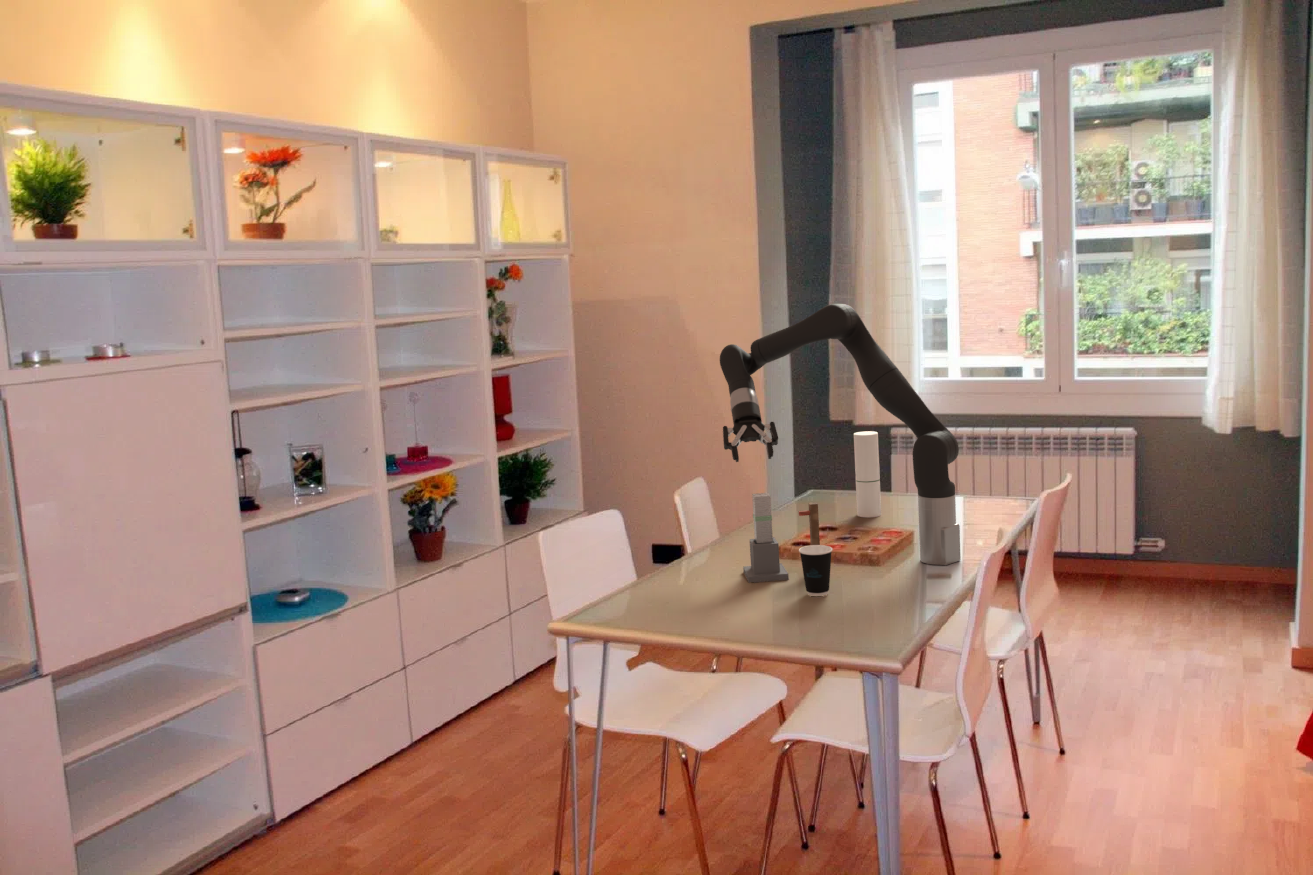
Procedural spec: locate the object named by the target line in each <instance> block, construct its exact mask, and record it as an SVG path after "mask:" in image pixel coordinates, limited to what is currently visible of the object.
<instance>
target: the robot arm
mask: <svg viewBox="0 0 1313 875" xmlns="http://www.w3.org/2000/svg"><path fill="white" fill-rule="evenodd" d="M825 340H838V341H839V342H840V343H841V344H842V345H843V346H844V347H845V349H846V350H847V351H848V353H850V355H851V356H852V357H853V359H854V361H855V363H856V366H857V369H858V371H859V375H860V377H861V379H862V382H863V384H864V385H865V387H866V388H867V390H868V391H869V392H870V394H871V395H872V396H873V398H874V399H875V401H876V402H877V403H878V404H879V405H880V406H881V407H882V408H883V409H885V410H886V411H887V412H888V413H890V414H891V415H893V416H894V417H896V418H897V419H899V420H900V421H901V422H903V423H904V424H905V425H906V426H907V427H908V428H909V429H910V430H911V431H912V434H914V436H915V437H916V440H915V442H914V444H913V447H912V468H913V470H912V471H913V479H914V480H913V481H914V484H915V486H916V488H917V508H918V513H917V514H918V531H919V532H918V533H919V534H918V535H919V538H918V539H919V560H920V562H921V563H924V564H927V565H936V566H937V565H938V566H940V565H941V566H948V565H951V564H954V563H957V562H959V561H961V533H960V532H961V531H960V530H961V528H960V527H961V526H960V524H959V523H957V511H956V508H957V506H956V505H957V504H956V485H955V482H953V481H952V480H950V475H949V465H950V464H952V463H953V462H955V460H956V459H957V458H958V456H959V450H960V449H959V448H960V447H959V442H958V441H957V439H956V437H955V436H954V434H953V433H952V432H951V431H950V430H949V429H948V428H947V427H946V426H945V425H944V424H943V423H942V422H941V421H940V419H939V418H937V416H935V415H934V413H933V412H932V411H931V410H930V408H929V407H928V406H927V404H925V402H924V401H923V399H922V398H921V397H920V396H919V394H918V393H917V392H916V391H915V389H914V388H913V387H912V385H911V384H910V383H909V381H908V380H907V378H906V377H905V376H904V374H903V373H902V372H901V370H900V369H899V368H898V367H897V366H896V364H895V363H894V362H893V361H892V360H891V358H890V357H889V356H888V355H887V353H886V352H885V351H884V350H883V349H882V348H881V346H880V345H879V344H878V343H877V341H876V340H875V338H873V336H872V335H871V333H870V332H869V330H868V328H867V326H866V325H865V324H864V322H863V320H862V319H861V316H860V315H859V314H858V312H857V311H856V310H855V308H853V307H852V306H851V305H848V304H845V303H830V304H828V305H825V306H823V307H821V308H820V309H819V310H817V311H815V312H814V313H813V314H810V315H809V316H807V317H806V318H804V319H803V320H801V321H799V322H796V323H795V324H793V325H790V326H787V327H785V328H782V329H780V330H777V331H775V332H772V333H769V334H767V335H765V336H762V337H760V338H757V339H756V340H753V341H752V342H751V343H750V352H749V353H748V352H747V351H746V350H744V349H743V348H742V347H740V346H739V345H737V344H728V345H726V346H724V347H723V349H722V350H721V352H720V354H719V365H720V369H721V371H722V373H723V375H724V376H723V377H724V379H725V381H726V384H727V386H728V391H729V392H728V393H729V397H730V401H729V404H730V412H731V416H732V423H733V427H728V426H727V425H723V427H722V438H723V440H722V441H723V449H724V450H726V451H727V450H730V451H731V456H732V459H733V461H735V462H736V463H739V460H740V458H739V456H740V455H739V451H738V447H739V446H741V444H742V442H744V443H749V442H757V441H758V442H759V443H760V444H763V445H765V447H766V454H767V459H768V460H771V459H772V457H773V456H774V448H773V446H778V444H779V435H778V432H777V428H776V422H774V421H770V422H769V423H767V424H764V422H763V419H762V416H761V410H760V404H759V398H758V397H757V392H756V388H755V382H754V379H753V377H752V375H753V374H754V373H756V372H757V371H758V370H760V369H761V368H762V367H764V366H765V365H767V364H769V363H772V362H774V361H776V360H779V359H781V358H784V357H785V356H786V357H787V355H790V354H791V353H793V352H795V351H796V350H798V349H800V348H802V347H804V346H806V345H809V344H812V343H816V342H819V341H825ZM765 430H766V431H767V432H768V433H769V434H770V436H771V437H770V436H768V435H767V434H766V432H765ZM732 434H734V435H735V437H734V439H733V440H732V442H729V441H730V440H729V437H731V435H732Z"/></svg>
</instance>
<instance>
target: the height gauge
mask: <svg viewBox="0 0 1313 875" xmlns="http://www.w3.org/2000/svg"><path fill="white" fill-rule="evenodd" d="M798 516H799V517H803V516H808V518H809V536H810V537H809V538H810V539H809V540H810V545H821V539H820V523H819V522H820V520H819V519H820V518H819V516H820V515H819V504H818V502H808V510H799V511H798Z"/></svg>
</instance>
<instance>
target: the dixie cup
mask: <svg viewBox="0 0 1313 875" xmlns="http://www.w3.org/2000/svg"><path fill="white" fill-rule="evenodd" d="M798 552H799V553H800V554H799V555H800V560H801V565H802V573H803V580H804V585H805V591H806V592H807V595H808V594H809V595H811V596H822V595H826V594H828V595H829V591H830V582H831V580H830V579H831V564H832V552H833V547H831V546H830V545H824V544H820V545H811V544H810V545H805V546H802V547H800V548H799V549H798ZM811 596H810V597H811ZM826 596H827V595H826Z"/></svg>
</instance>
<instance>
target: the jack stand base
mask: <svg viewBox="0 0 1313 875" xmlns="http://www.w3.org/2000/svg"><path fill="white" fill-rule="evenodd" d="M748 540H749V554H750V565H745V566H743V568H742V569H743V574H744V576H745V578H746V579H747V582H748V583H749V584H751V583H750V582H754V583H763V582H765V581H766V582H776V581H775V580H777V581H787V580H790V579H789V573H788V570H787V569H786V568H785V566H784V565H783V563H782V562H780V549H779V548H780V547H779V542H778V541H777V539H776V537H773V543H766V544H755V538H749V539H748Z"/></svg>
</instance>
